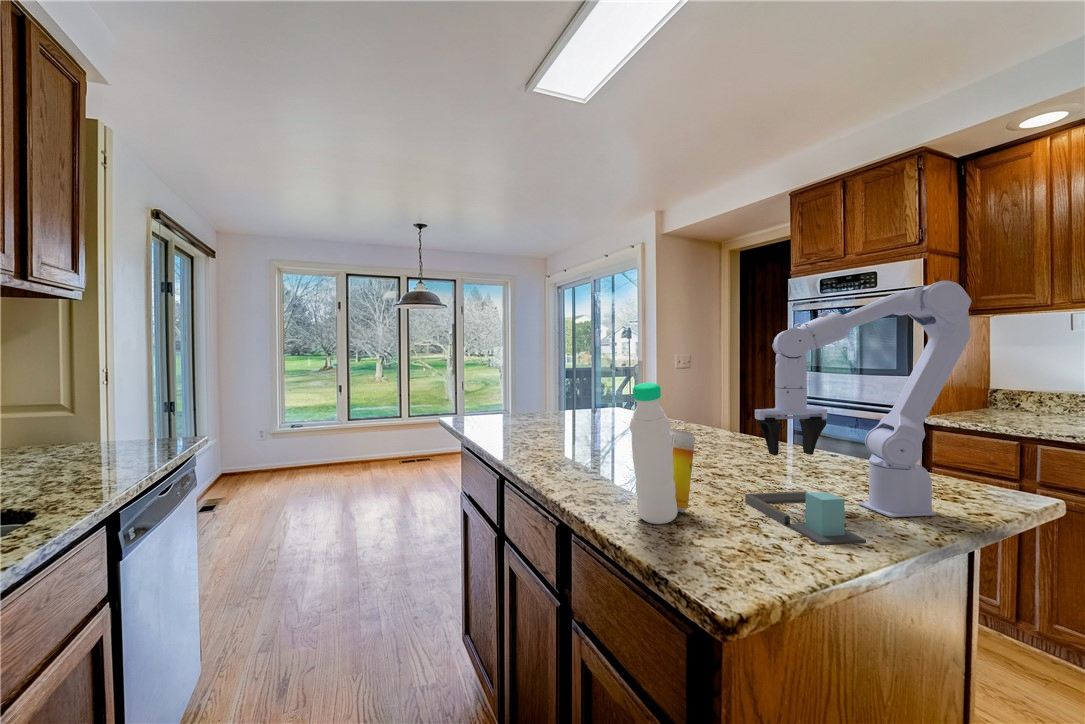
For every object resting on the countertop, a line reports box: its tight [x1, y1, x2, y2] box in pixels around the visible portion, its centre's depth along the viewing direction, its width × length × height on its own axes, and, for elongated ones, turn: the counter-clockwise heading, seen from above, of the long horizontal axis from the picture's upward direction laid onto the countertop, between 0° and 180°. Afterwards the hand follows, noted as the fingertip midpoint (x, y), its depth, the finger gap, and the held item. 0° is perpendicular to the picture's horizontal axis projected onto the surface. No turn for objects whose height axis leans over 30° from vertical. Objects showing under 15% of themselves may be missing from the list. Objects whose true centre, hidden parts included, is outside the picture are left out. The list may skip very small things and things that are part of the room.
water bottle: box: [629, 382, 678, 525], centre depth 83 cm, size 7×7×25 cm
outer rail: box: [744, 491, 809, 527], centre depth 89 cm, size 14×14×2 cm
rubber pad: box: [787, 522, 867, 545], centre depth 78 cm, size 8×8×1 cm
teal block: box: [805, 491, 846, 536], centre depth 78 cm, size 4×4×6 cm
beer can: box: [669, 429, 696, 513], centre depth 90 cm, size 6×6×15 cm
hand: (790, 454), depth 94 cm, fingers open, 7 cm apart
